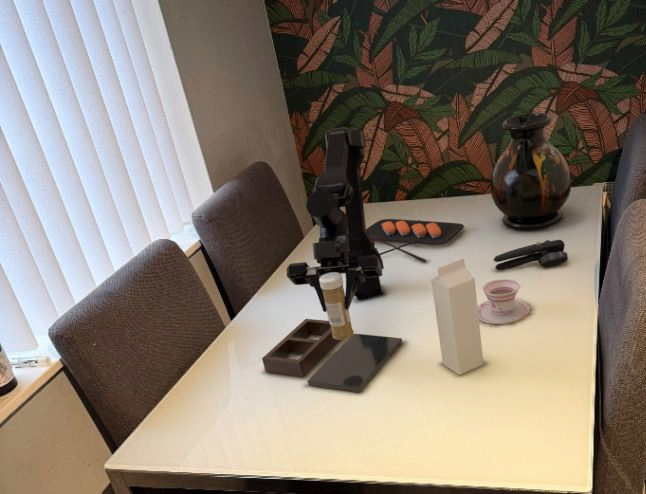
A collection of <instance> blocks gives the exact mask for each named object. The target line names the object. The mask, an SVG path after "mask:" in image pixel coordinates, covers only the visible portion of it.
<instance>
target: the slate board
mask: <svg viewBox="0 0 646 494" xmlns="http://www.w3.org/2000/svg"><path fill="white" fill-rule="evenodd" d="M403 343H404V342H403V338H402V337H393V336H384V335H383V336H382V335H372V334H362V333H353V335H352V336H351V337H350V338H348V339H346V341H345V342H344V343H343V344H342V345H341V346H340V347H339V348H338V349H337V350H336V351H335V352H334V353H333V354H332V355H331V356H330V357H329V358H328V359H327V360H326V361H325V362H324V363H323V364H322V365H321V367H319V368H318V369H317V370H316V372H315V373H313V374H312V376H310V378H308V380H307V384H308V386H310V387H316V388H323V389H324V388H325V389H331V390H340V391H346V392H353V393H361V392H362V391H363V389H364V388H365V387H366V386H367V384H369V382H370V381H371V380H372V379H373V378H374V377H375V376H376V374H377V373H378V372H379V371H380V370H381V369H382V368H383V366H385V364H386V363H387V362H388V361H389V360H390V358H392V356H393V355H394V354H395V352H396V351H397V350H398V349H399V348H400V347H401V346H402V345H403Z"/></svg>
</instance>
